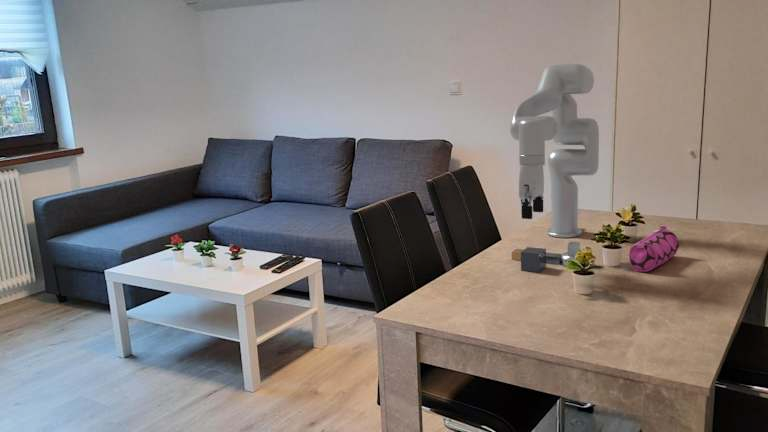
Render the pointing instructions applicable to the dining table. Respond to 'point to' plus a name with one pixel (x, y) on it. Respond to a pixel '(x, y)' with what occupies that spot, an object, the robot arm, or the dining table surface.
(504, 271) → the dining table surface
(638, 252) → the pencil case
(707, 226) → the dining table surface
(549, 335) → the dining table surface
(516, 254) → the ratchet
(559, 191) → the robot arm
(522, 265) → the dark slate cube
